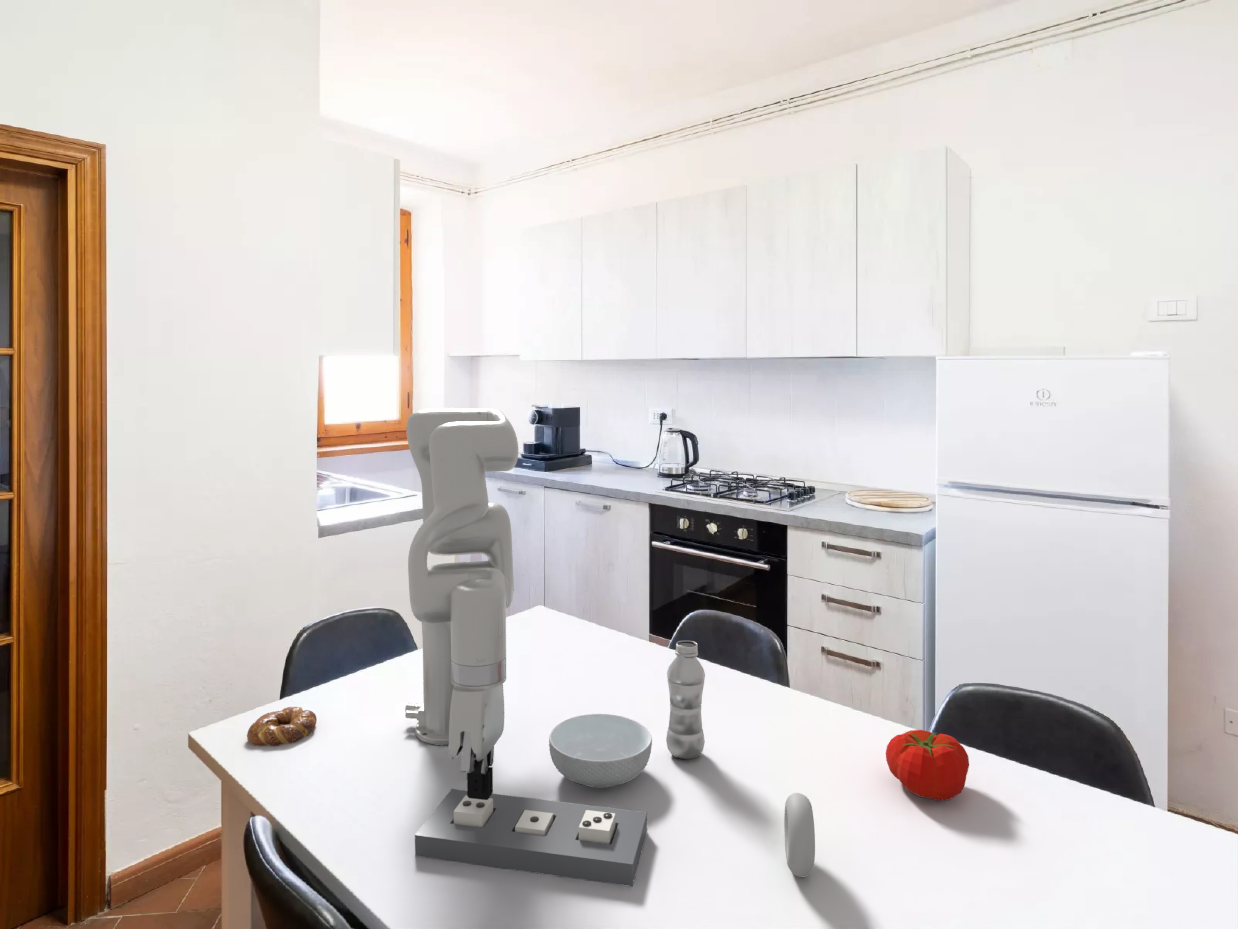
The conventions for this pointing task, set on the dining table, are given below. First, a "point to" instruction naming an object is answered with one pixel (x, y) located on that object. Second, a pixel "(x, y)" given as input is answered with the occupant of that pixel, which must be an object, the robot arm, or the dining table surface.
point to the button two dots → (473, 812)
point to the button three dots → (597, 827)
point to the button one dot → (534, 822)
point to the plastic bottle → (685, 702)
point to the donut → (799, 834)
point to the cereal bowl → (600, 749)
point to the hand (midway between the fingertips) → (480, 795)
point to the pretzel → (282, 727)
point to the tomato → (928, 763)
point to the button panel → (535, 840)
